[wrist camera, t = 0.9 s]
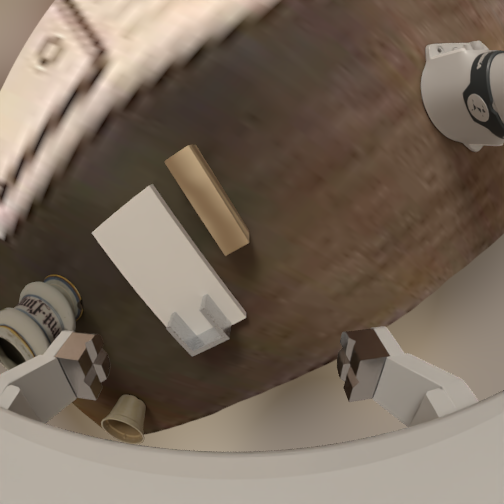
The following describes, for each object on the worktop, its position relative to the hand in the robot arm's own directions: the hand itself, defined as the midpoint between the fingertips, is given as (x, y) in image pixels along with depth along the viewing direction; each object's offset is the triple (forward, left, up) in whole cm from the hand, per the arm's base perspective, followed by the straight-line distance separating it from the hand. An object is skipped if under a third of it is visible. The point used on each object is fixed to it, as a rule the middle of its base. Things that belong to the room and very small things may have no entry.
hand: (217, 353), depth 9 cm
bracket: (+16, +5, -32) cm, 36 cm away
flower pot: (+45, +25, -33) cm, 61 cm away
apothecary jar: (+38, -2, -33) cm, 50 cm away
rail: (+4, -1, -33) cm, 33 cm away
